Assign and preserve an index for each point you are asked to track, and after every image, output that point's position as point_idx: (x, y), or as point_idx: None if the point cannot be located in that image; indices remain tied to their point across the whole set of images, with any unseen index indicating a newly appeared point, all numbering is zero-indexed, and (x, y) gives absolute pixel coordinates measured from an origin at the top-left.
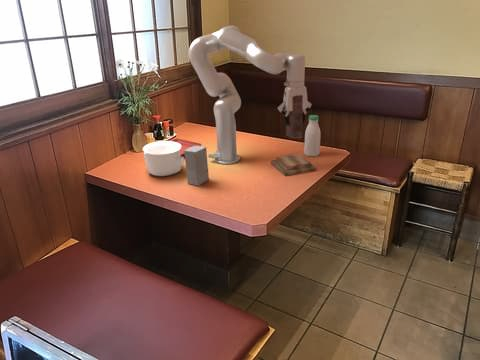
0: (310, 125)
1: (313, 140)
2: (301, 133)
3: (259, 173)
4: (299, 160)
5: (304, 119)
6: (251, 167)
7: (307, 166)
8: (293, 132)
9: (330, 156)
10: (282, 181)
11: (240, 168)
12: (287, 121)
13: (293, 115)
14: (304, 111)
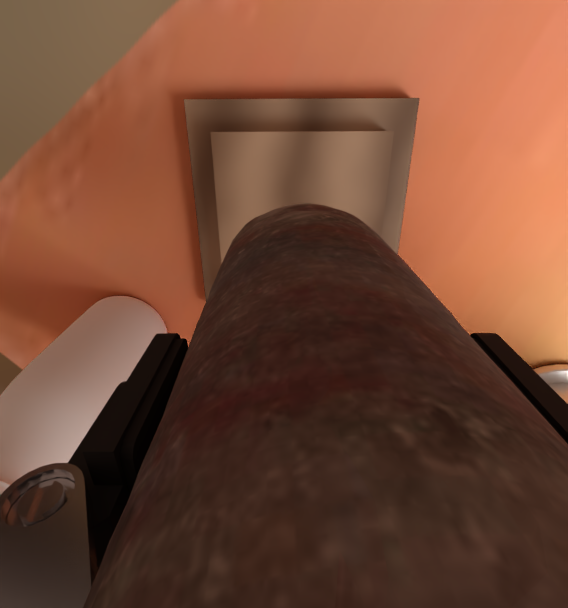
0: (51, 458)
1: (91, 349)
2: (251, 230)
3: (517, 202)
4: (266, 200)
5: (139, 365)
6: (502, 293)
7: (237, 131)
8: (376, 236)
9: (35, 265)
10: (473, 18)
11: (558, 302)
12: (530, 370)
13: (534, 411)
14: (44, 544)
